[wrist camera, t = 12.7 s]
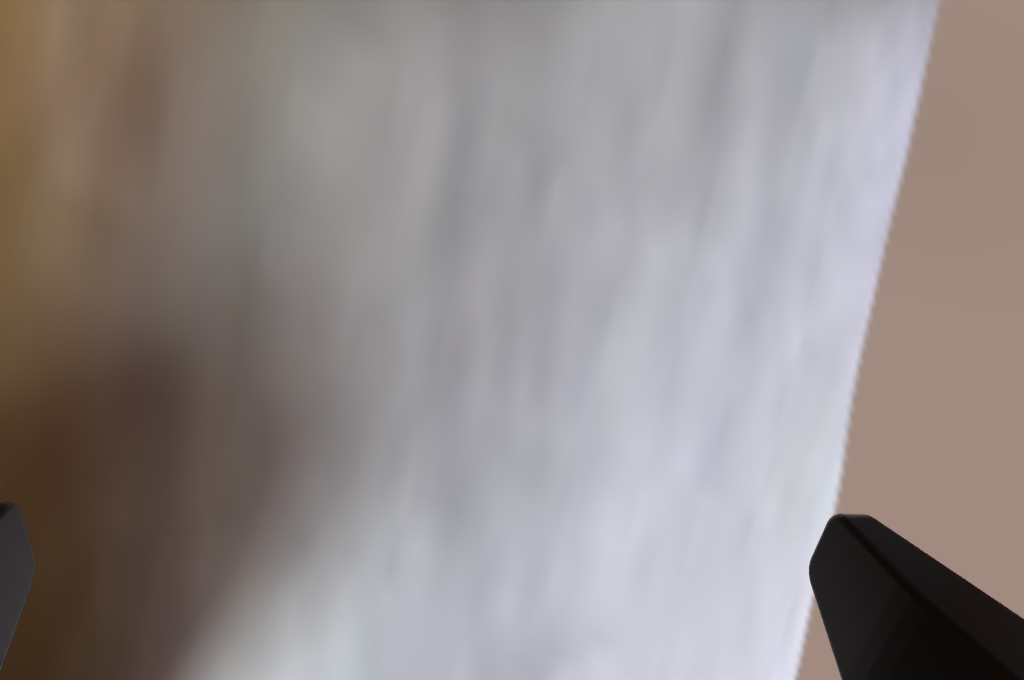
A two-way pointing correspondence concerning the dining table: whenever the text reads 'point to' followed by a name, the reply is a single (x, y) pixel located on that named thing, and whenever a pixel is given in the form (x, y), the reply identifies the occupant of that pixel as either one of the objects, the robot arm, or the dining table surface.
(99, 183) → the dining table surface
